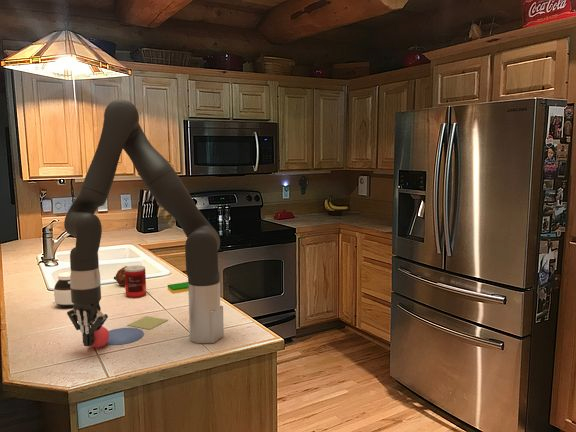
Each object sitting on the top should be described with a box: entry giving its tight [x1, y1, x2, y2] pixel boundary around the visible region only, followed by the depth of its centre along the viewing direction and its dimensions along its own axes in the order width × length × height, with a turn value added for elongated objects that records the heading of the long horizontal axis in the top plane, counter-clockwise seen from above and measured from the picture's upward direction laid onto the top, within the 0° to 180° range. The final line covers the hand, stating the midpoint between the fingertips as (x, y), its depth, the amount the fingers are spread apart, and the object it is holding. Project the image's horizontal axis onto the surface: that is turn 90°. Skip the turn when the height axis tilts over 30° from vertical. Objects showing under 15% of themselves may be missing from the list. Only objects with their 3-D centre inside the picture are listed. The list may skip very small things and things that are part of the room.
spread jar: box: [53, 271, 74, 309], centre depth 170 cm, size 12×11×12 cm
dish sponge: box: [167, 281, 189, 294], centre depth 190 cm, size 7×14×2 cm, turn 121°
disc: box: [105, 327, 145, 346], centre depth 141 cm, size 13×13×1 cm
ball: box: [90, 325, 109, 348], centre depth 133 cm, size 6×6×6 cm
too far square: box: [127, 315, 169, 331], centre depth 152 cm, size 9×9×1 cm
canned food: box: [124, 264, 147, 299], centre depth 180 cm, size 8×8×11 cm
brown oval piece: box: [113, 265, 129, 287], centre depth 195 cm, size 8×8×12 cm
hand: (88, 345), depth 129 cm, fingers closed
